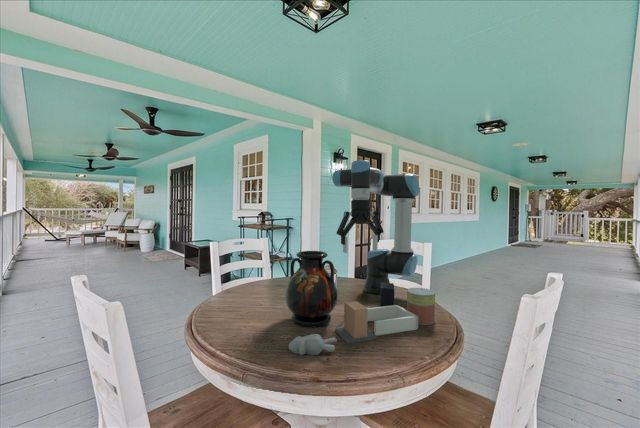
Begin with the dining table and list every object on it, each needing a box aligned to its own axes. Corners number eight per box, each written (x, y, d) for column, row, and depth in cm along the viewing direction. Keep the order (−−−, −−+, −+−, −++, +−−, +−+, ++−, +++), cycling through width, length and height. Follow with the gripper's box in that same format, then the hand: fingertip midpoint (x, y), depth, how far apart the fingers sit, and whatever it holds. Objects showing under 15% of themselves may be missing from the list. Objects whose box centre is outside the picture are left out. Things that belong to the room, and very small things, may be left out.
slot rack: (396, 316, 131) (397, 304, 130) (418, 329, 117) (418, 316, 117) (358, 321, 124) (358, 309, 124) (375, 335, 111) (375, 322, 111)
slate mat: (361, 327, 118) (361, 325, 118) (375, 339, 108) (376, 336, 108) (335, 331, 114) (335, 328, 114) (347, 343, 104) (347, 340, 104)
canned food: (440, 321, 126) (441, 292, 125) (422, 327, 119) (423, 296, 119) (418, 313, 135) (418, 286, 135) (400, 318, 129) (401, 290, 129)
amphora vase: (275, 326, 119) (276, 255, 118) (298, 308, 139) (298, 248, 138) (327, 334, 111) (328, 258, 110) (343, 315, 131) (344, 250, 131)
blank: (356, 326, 116) (356, 301, 116) (367, 336, 108) (367, 308, 107) (344, 328, 115) (344, 302, 114) (354, 338, 106) (354, 310, 106)
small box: (394, 311, 137) (394, 288, 136) (379, 310, 138) (380, 287, 138) (393, 304, 147) (394, 282, 147) (379, 303, 148) (380, 281, 148)
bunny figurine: (293, 332, 104) (336, 330, 101) (294, 346, 104) (337, 345, 101) (285, 344, 95) (333, 342, 92) (287, 360, 95) (334, 359, 92)
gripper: (335, 199, 115) (335, 255, 116) (392, 199, 123) (391, 250, 124) (328, 199, 122) (328, 251, 123) (382, 199, 130) (382, 248, 131)
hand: (360, 251), depth 123 cm, fingers open, 13 cm apart
